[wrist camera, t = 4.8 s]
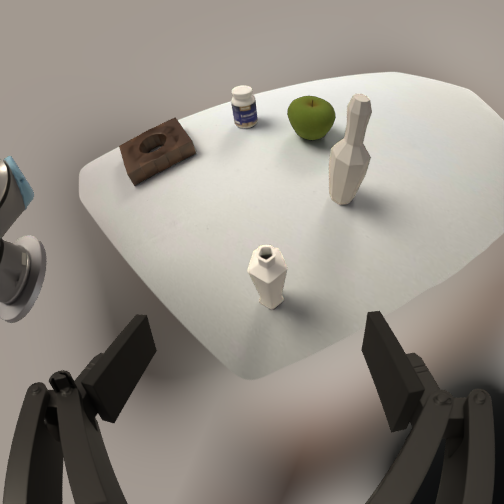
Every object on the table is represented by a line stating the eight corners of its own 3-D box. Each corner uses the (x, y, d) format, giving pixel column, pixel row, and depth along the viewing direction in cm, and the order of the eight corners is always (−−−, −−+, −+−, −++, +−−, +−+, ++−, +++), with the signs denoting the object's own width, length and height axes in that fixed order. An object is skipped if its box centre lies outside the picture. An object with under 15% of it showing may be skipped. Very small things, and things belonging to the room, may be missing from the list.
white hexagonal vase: (251, 289, 44) (237, 243, 30) (277, 279, 44) (275, 229, 31) (262, 315, 42) (252, 279, 28) (288, 305, 42) (291, 264, 29)
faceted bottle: (344, 179, 52) (362, 84, 33) (363, 201, 49) (392, 105, 30) (318, 189, 52) (329, 90, 32) (337, 213, 49) (360, 113, 29)
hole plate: (134, 186, 58) (127, 174, 54) (125, 156, 64) (119, 145, 60) (196, 154, 60) (192, 141, 56) (179, 128, 66) (175, 117, 62)
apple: (281, 125, 62) (280, 91, 53) (321, 119, 62) (323, 86, 53) (297, 153, 57) (298, 116, 48) (340, 145, 57) (345, 110, 48)
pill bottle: (244, 131, 62) (239, 98, 53) (230, 123, 64) (224, 90, 55) (262, 122, 63) (259, 88, 54) (247, 113, 66) (243, 82, 57)
